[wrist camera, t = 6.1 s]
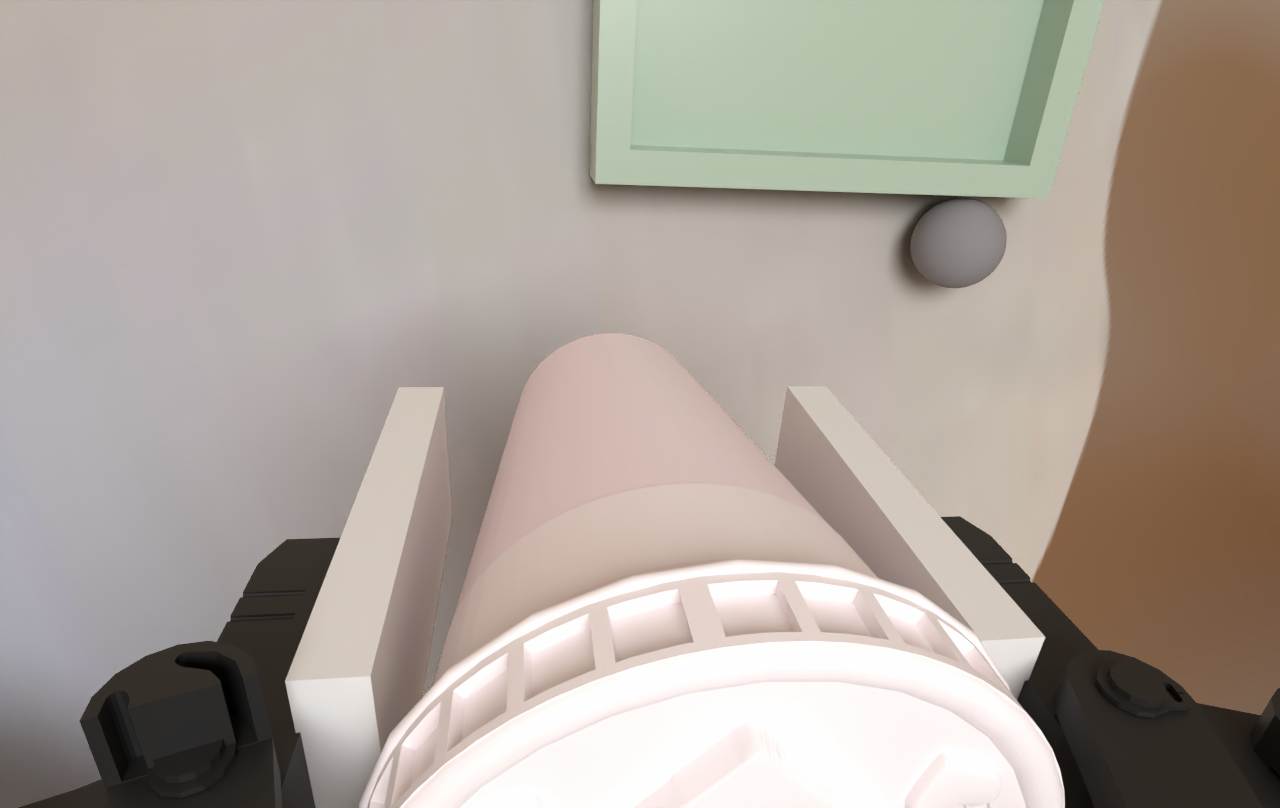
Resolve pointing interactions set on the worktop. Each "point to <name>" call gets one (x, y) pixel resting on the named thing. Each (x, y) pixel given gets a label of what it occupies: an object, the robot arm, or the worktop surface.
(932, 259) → the gray ball
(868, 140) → the tray
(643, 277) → the worktop surface
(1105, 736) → the robot arm
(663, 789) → the smoothie
